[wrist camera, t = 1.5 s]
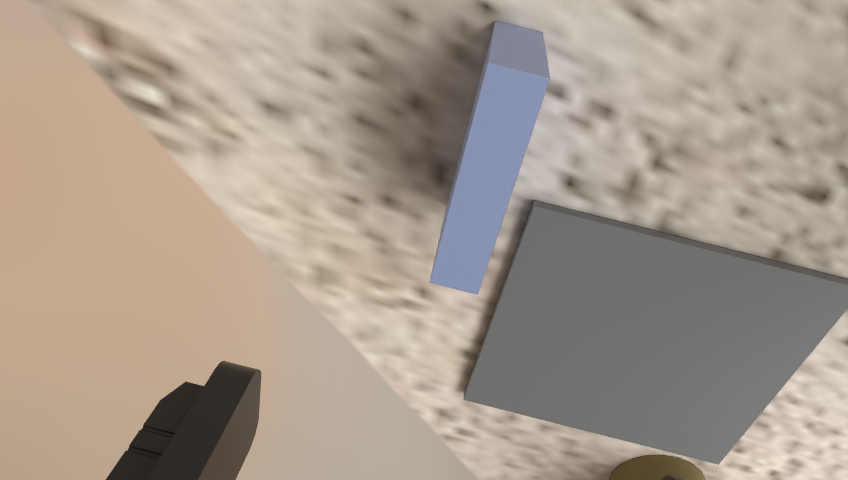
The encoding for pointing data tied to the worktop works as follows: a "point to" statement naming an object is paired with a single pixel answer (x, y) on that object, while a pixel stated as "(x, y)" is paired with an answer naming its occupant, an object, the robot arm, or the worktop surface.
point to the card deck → (491, 154)
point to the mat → (647, 333)
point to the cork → (656, 469)
